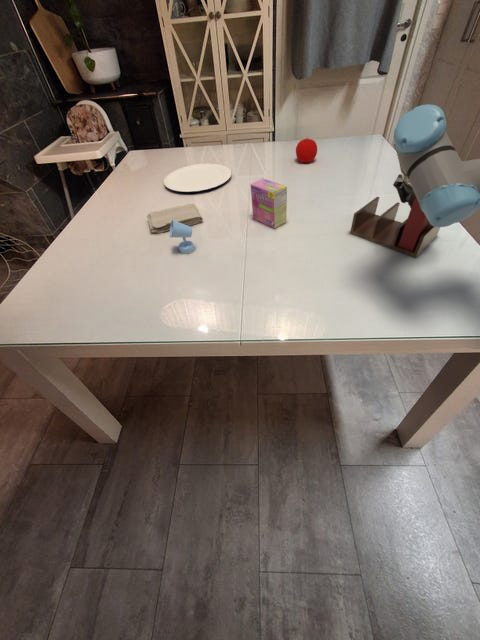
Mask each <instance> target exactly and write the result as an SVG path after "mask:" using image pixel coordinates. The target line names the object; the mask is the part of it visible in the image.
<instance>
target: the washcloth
mask: <svg viewBox="0 0 480 640" xmlns="http://www.w3.org/2000/svg"><path fill="white" fill-rule="evenodd" d="M146 218H147V220H148V224H149V229H150V231H151V233H155V234H161V233H164V232H168V231H170V225H171V221H172V220H174V221H177V222H179V223H182V224H184V225H187V226H189V227H190V226H192V225H196V224H200V223H202V222H203V216H202V215H201V214H200V213H199V209H198V207H197V206H196V205H195V204H194V203H189V204H185V205H178V206H174V207H171V208H165V209H161V210H156V211H152V212H149V213H148V214H147V216H146Z"/></svg>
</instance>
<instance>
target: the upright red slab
mask: <svg viewBox="0 0 480 640" xmlns="http://www.w3.org/2000/svg"><path fill="white" fill-rule="evenodd" d="M407 218H408V219H407ZM407 218H406V219H407V222H406V224H405V227H404V230H403V233H402V236H401V239H400V242H399V244H398V246H400V247H403V248H406V249H409V250H411V251H413V250H414V249H415V248H416V247H417V245H418V243H419V240H420V238H421V235H422V234H423V233H424V232H425V231H426V230H427V229H428V228H430V227H431V226H432V225H431V224H430V223H429V221H428V219H427V217H426V216H425V214H424V212H423V211H422V210H421V208H420V204H419V202H418V200H417V197H416V198H415V199H414V202H413V205H412V207H411V208H410V210H409V213H408V216H407Z"/></svg>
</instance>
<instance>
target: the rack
mask: <svg viewBox="0 0 480 640" xmlns="http://www.w3.org/2000/svg"><path fill="white" fill-rule="evenodd" d="M379 201H380V196H376V197H374V199H372V200H371V201H369V202H368V203H366V204H365V205H364V206H362V207H360V209H358V210H357V211H356V212H353V218H352V221H351V227H350V232H349V233H350V235H352V236H355V237H358V238H361V239H363V240H366V241H370V242H371V243H375V244H378V245H381V246H383V247H386V248H389V249H392V250H394V251H397V252H399V253H401V254H402V253H403V254H405V255H408V256H410V257H413V258H417V257H418V256H419V255H420V254H421V253H422V252H423V251H424V250H425V249H426V248H427V247H428V246H429V245H430V244H431V243H432V242H433V241H434V240H435V239H436V238H437V236H438V234H439V231H440V229H441V227H434V226H431V227H430V228H428V229H427V230H426V231H425V232H424V233H423V234H422V235H421V238H420V240H419V243H418V245H417V247H416V248H415V249H414V250H413V251H411V250H409V249H406V248H403V247H400V246H398V244H399V242H400V239H401V236H402V233H403V230H404V227H405V224H406V222H407V219H408V217H407V218H406V219H405V220H404V221H402V222H401V221H398V220H396V217H397V214H398V210H399V207H400V202H396V203H394V204H393V205H392V206H390V207H389V208H388V209H387V210H386V211H385V212H383V213H382V214H381V215H379V214H376V213H377V208H378V206H379V205H378V204H379Z"/></svg>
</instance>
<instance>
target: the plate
mask: <svg viewBox="0 0 480 640" xmlns="http://www.w3.org/2000/svg"><path fill="white" fill-rule="evenodd" d="M231 177H232V171H231V169H230V168H229V167H227V166H226V165H223V164H220V163H207V162H205V163H195V164H189V165H186V166H183V167H180V168H176V169H175V170H173V171H171V172H169V173H168V174H167V175H166V176H165V177H164V180H163V185H164V186H165V188H167V189H168V190H171V191H173V192H179V193H197V192H198V193H199V192H203V191H204V192H205V191H209V190H211V189H215V188H217V187H219V186H221V185H223V184H225V183H226V182H228V181H229V180H230V178H231Z"/></svg>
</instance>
